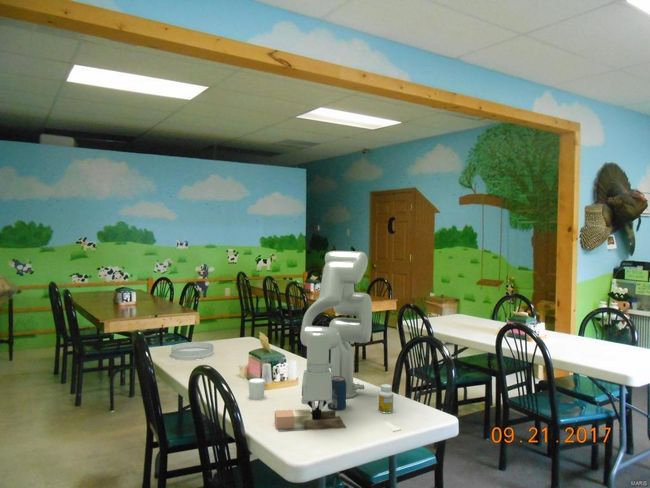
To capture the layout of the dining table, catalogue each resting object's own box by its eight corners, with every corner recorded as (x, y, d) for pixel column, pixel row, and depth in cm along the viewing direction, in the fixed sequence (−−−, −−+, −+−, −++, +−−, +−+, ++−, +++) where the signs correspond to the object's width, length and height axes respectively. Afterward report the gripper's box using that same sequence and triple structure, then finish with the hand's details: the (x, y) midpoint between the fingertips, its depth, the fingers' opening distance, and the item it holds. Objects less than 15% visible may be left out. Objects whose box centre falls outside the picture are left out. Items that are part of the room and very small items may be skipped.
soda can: (343, 406, 191) (344, 375, 191) (347, 412, 184) (348, 380, 184) (326, 407, 190) (326, 376, 189) (329, 413, 183) (329, 381, 183)
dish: (201, 348, 280) (201, 340, 280) (221, 356, 264) (221, 347, 264) (163, 354, 265) (163, 345, 265) (183, 363, 249) (183, 353, 249)
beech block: (308, 420, 173) (309, 409, 173) (311, 427, 167) (312, 415, 167) (291, 421, 172) (292, 410, 172) (294, 428, 166) (294, 416, 166)
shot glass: (262, 401, 195) (262, 383, 195) (245, 399, 196) (245, 382, 196) (267, 395, 202) (267, 378, 201) (251, 394, 203) (251, 377, 203)
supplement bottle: (377, 408, 189) (377, 383, 189) (391, 408, 189) (391, 383, 189) (379, 414, 184) (380, 388, 183) (394, 413, 184) (394, 387, 184)
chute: (339, 418, 178) (339, 409, 178) (346, 430, 167) (346, 420, 167) (275, 422, 173) (275, 412, 173) (278, 434, 163) (278, 424, 163)
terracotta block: (291, 421, 172) (292, 409, 172) (294, 428, 166) (294, 416, 166) (274, 422, 171) (274, 410, 171) (276, 429, 165) (276, 417, 165)
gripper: (336, 363, 175) (335, 415, 176) (294, 364, 172) (293, 417, 173) (341, 369, 168) (340, 423, 168) (297, 370, 165) (296, 425, 165)
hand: (316, 419), depth 170 cm, fingers closed
